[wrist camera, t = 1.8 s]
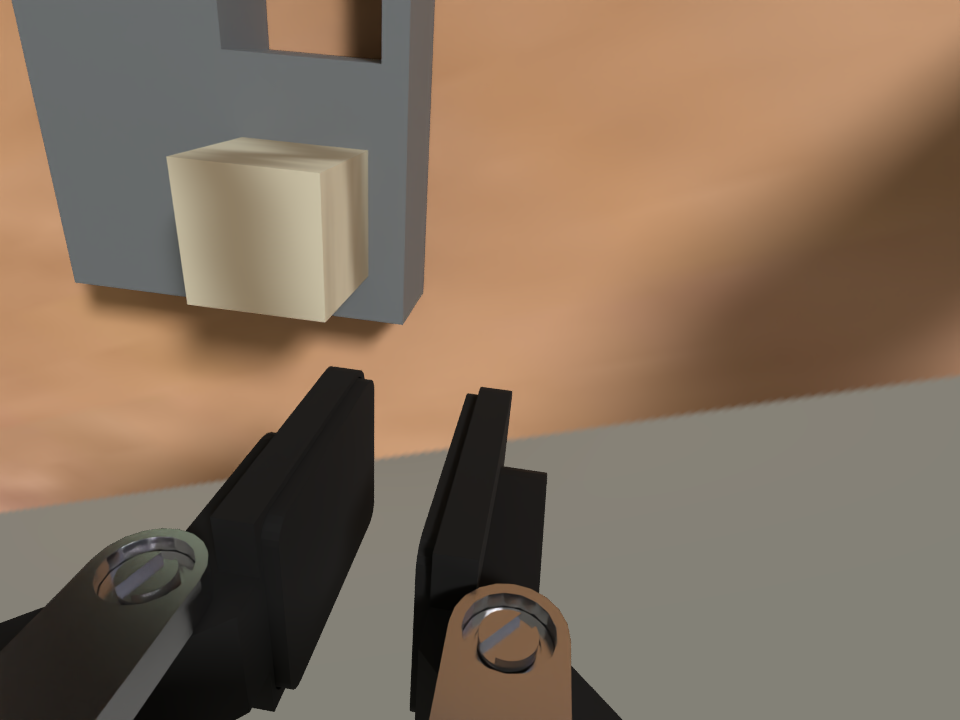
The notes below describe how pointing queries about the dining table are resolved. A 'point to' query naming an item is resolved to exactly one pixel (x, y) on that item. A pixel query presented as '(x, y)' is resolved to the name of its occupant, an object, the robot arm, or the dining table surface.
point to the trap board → (221, 127)
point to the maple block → (271, 226)
